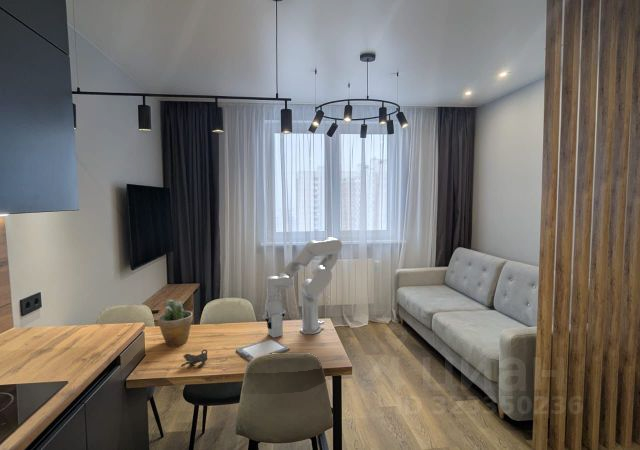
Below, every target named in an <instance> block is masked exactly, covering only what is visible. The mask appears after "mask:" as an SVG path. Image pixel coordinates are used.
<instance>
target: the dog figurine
mask: <svg viewBox="0 0 640 450" xmlns="http://www.w3.org/2000/svg"><path fill="white" fill-rule="evenodd" d="M183 358H184V359H185V360H186V361H185V362H184V363H182V364H181V365H180V368H182V367H184V366H187V365H191V366H192V365H196V364H198V363H200V364H198V365H197V366H196V367H197V368H201V367H202V366H204V365H205V364H206V363H205V362H206V361H207V360H208V350H207V349H202V350H201V353H200V354H197V355H196V354H190V353H185V354H184V355H183Z"/></svg>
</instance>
